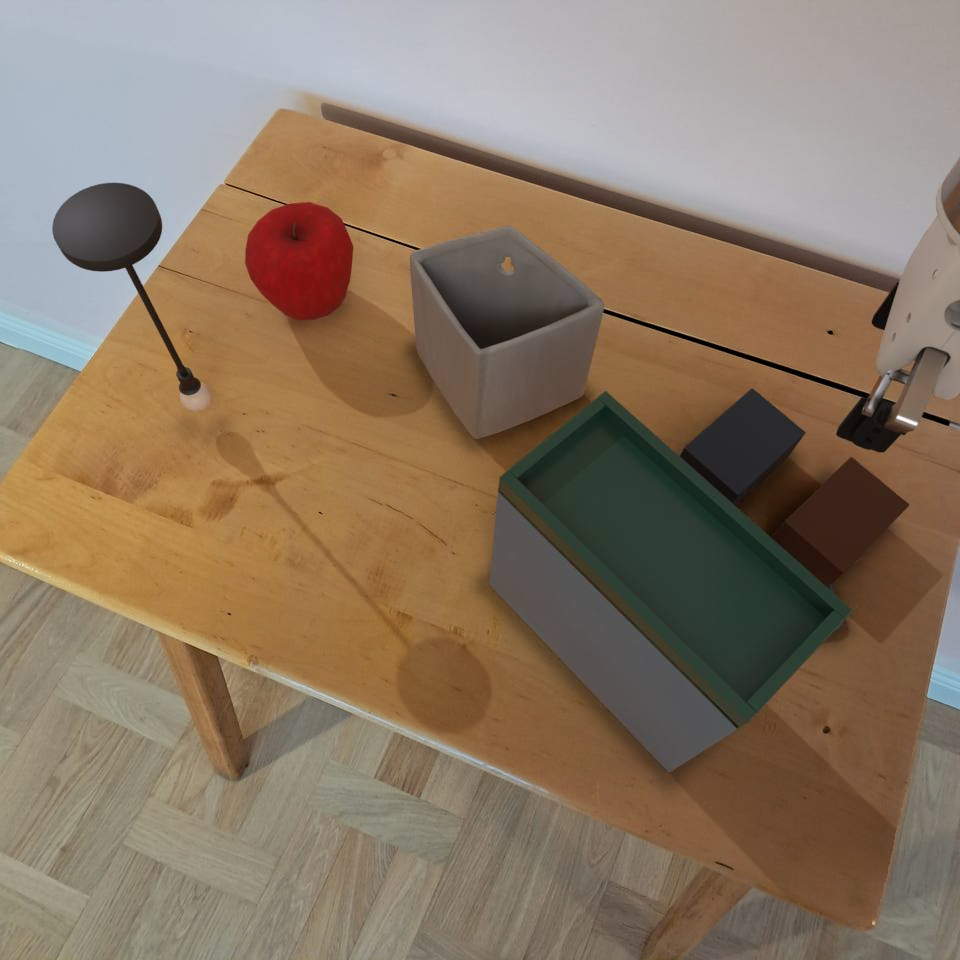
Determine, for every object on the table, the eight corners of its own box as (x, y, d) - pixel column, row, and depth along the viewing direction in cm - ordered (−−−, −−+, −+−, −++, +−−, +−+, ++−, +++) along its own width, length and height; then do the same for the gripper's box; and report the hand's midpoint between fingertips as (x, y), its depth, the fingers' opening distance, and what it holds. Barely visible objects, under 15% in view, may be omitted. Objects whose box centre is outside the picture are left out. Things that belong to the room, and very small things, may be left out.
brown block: (886, 526, 75) (910, 504, 71) (822, 592, 73) (843, 573, 69) (830, 479, 77) (851, 456, 73) (766, 542, 74) (784, 521, 70)
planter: (389, 416, 79) (370, 277, 62) (418, 347, 83) (407, 197, 65) (562, 464, 77) (592, 336, 60) (584, 391, 81) (618, 250, 63)
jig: (839, 620, 53) (853, 610, 51) (737, 729, 50) (748, 722, 48) (601, 406, 59) (605, 390, 57) (497, 491, 56) (498, 476, 54)
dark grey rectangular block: (788, 456, 78) (806, 432, 74) (723, 517, 75) (738, 495, 71) (737, 413, 80) (752, 387, 76) (671, 471, 77) (683, 447, 73)
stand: (750, 688, 69) (839, 620, 53) (668, 773, 66) (737, 729, 50) (570, 514, 75) (601, 406, 59) (488, 584, 72) (497, 491, 56)
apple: (316, 245, 88) (298, 163, 78) (382, 299, 85) (372, 220, 75) (239, 302, 84) (211, 223, 75) (305, 360, 82) (284, 285, 72)
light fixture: (176, 457, 77) (59, 272, 54) (161, 396, 79) (45, 196, 57) (250, 436, 78) (166, 246, 55) (234, 376, 81) (148, 172, 58)
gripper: (1080, 355, 39) (904, 512, 54) (1124, 108, 46) (957, 309, 61) (914, 297, 40) (787, 466, 55) (982, 65, 47) (853, 272, 62)
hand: (876, 383), depth 58 cm, fingers open, 9 cm apart
